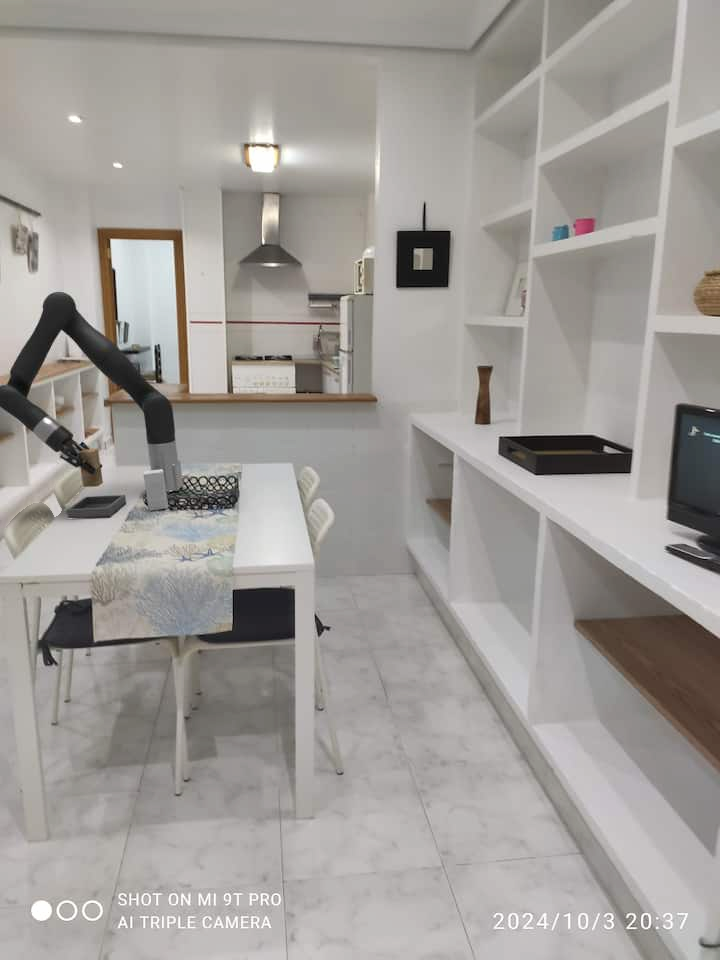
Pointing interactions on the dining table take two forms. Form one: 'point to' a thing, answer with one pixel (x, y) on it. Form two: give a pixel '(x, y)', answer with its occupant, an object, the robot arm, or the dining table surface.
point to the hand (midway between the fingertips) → (97, 470)
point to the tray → (97, 507)
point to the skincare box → (155, 489)
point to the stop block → (93, 459)
